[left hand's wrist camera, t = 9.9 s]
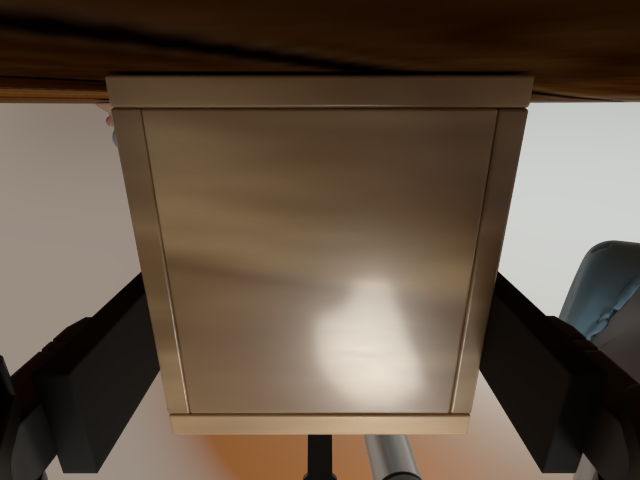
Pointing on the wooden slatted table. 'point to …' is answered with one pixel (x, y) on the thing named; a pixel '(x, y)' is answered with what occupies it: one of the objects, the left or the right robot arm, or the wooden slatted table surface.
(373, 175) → the chest
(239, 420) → the lid
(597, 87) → the wooden slatted table surface
